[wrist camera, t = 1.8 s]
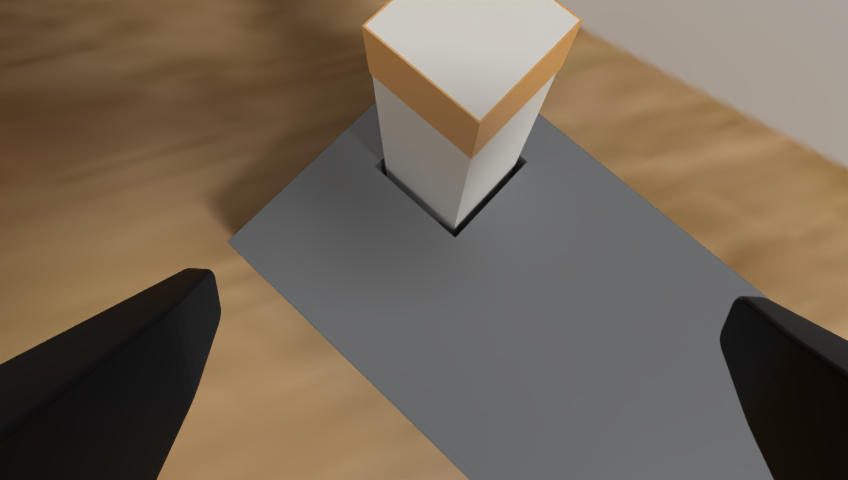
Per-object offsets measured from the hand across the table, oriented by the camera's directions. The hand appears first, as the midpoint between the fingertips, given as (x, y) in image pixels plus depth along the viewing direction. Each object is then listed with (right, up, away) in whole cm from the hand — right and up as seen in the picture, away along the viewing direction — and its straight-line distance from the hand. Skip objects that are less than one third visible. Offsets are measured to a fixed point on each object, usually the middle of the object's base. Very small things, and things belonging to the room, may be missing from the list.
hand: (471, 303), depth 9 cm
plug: (0, +3, +14) cm, 15 cm away
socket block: (+3, -2, +13) cm, 14 cm away
